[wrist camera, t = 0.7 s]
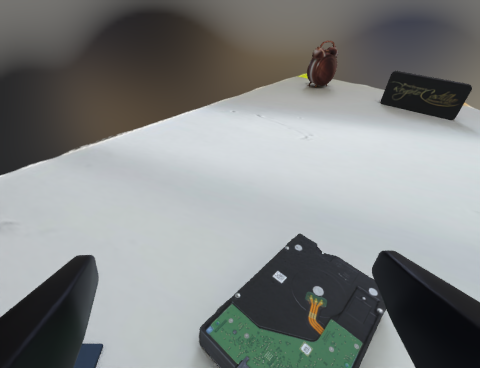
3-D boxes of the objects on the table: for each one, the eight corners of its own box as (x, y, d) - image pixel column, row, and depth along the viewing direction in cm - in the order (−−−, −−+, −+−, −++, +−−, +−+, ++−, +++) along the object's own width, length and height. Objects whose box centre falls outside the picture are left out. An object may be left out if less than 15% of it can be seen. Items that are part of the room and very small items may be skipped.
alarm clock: (322, 83, 102) (334, 40, 94) (332, 87, 99) (345, 42, 91) (302, 85, 97) (312, 39, 88) (311, 89, 94) (323, 41, 85)
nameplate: (379, 103, 87) (392, 71, 81) (380, 102, 88) (393, 70, 83) (453, 120, 79) (473, 86, 73) (453, 119, 80) (472, 84, 75)
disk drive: (292, 248, 31) (196, 346, 21) (297, 231, 30) (196, 327, 20) (382, 307, 26) (310, 471, 16) (394, 289, 24) (323, 460, 15)
